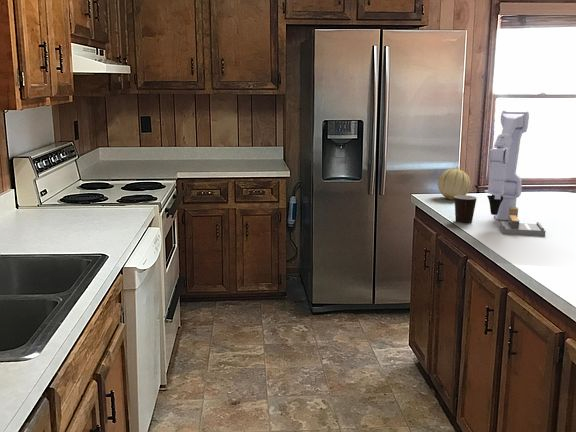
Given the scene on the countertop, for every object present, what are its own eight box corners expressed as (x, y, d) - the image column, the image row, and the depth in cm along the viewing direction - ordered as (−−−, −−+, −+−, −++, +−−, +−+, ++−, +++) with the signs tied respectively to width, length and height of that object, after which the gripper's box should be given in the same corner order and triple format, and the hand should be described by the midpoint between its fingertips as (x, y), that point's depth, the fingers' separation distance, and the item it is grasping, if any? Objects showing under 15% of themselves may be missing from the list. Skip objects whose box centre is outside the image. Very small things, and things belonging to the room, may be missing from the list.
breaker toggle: (508, 222, 247) (509, 215, 246) (515, 223, 246) (515, 215, 246) (511, 228, 238) (512, 220, 237) (518, 228, 238) (519, 220, 237)
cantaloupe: (436, 201, 299) (437, 169, 296) (438, 195, 313) (440, 164, 309) (468, 203, 295) (471, 170, 291) (469, 197, 308) (471, 166, 305)
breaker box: (498, 227, 249) (499, 220, 248) (539, 229, 246) (540, 222, 245) (502, 234, 238) (503, 226, 238) (545, 236, 235) (545, 228, 235)
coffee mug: (458, 218, 264) (459, 194, 261) (478, 221, 258) (480, 197, 256) (445, 223, 255) (447, 198, 253) (466, 226, 249) (467, 201, 247)
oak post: (507, 224, 254) (509, 206, 252) (515, 224, 253) (517, 207, 252) (508, 225, 251) (510, 208, 249) (516, 226, 250) (518, 208, 249)
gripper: (483, 176, 250) (481, 210, 253) (487, 182, 237) (484, 217, 240) (502, 176, 249) (499, 210, 252) (507, 182, 235) (504, 218, 238)
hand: (493, 214), depth 246 cm, fingers closed
